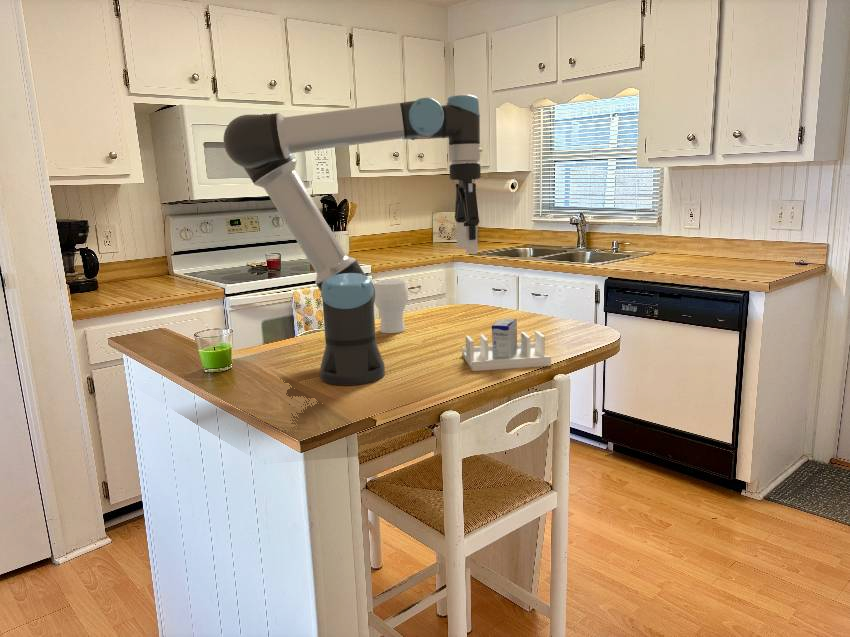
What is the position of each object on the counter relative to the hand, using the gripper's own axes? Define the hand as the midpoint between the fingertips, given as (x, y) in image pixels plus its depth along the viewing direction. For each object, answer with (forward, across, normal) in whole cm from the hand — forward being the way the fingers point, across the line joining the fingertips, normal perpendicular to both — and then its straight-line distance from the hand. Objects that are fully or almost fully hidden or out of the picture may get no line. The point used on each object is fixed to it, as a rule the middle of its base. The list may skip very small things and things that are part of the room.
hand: (466, 250), depth 159 cm
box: (+26, -8, -8) cm, 28 cm away
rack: (+27, -8, -8) cm, 29 cm away
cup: (+27, +31, +18) cm, 45 cm away
